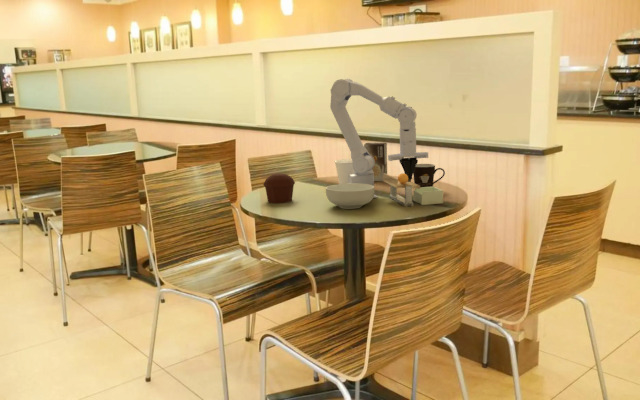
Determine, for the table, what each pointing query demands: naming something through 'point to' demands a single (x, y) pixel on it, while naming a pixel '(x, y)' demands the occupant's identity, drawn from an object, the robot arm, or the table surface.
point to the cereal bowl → (350, 195)
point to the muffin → (279, 188)
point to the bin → (428, 195)
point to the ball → (403, 178)
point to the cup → (344, 170)
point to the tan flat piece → (396, 183)
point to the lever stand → (404, 201)
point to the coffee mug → (425, 174)
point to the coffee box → (378, 158)
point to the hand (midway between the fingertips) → (408, 179)
